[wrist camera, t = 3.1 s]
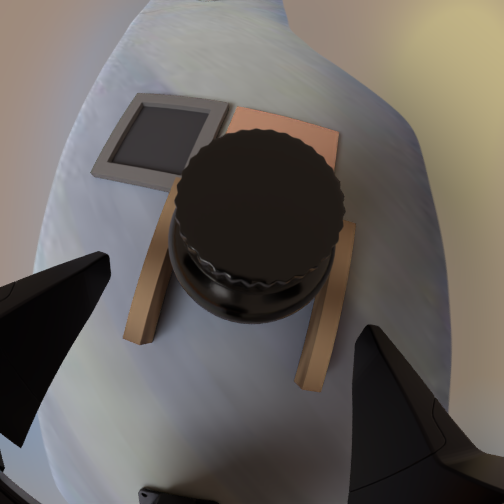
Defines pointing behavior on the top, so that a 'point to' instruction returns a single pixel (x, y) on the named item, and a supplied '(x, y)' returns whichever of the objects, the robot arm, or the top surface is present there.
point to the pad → (288, 130)
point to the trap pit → (158, 139)
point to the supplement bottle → (255, 226)
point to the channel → (322, 315)
